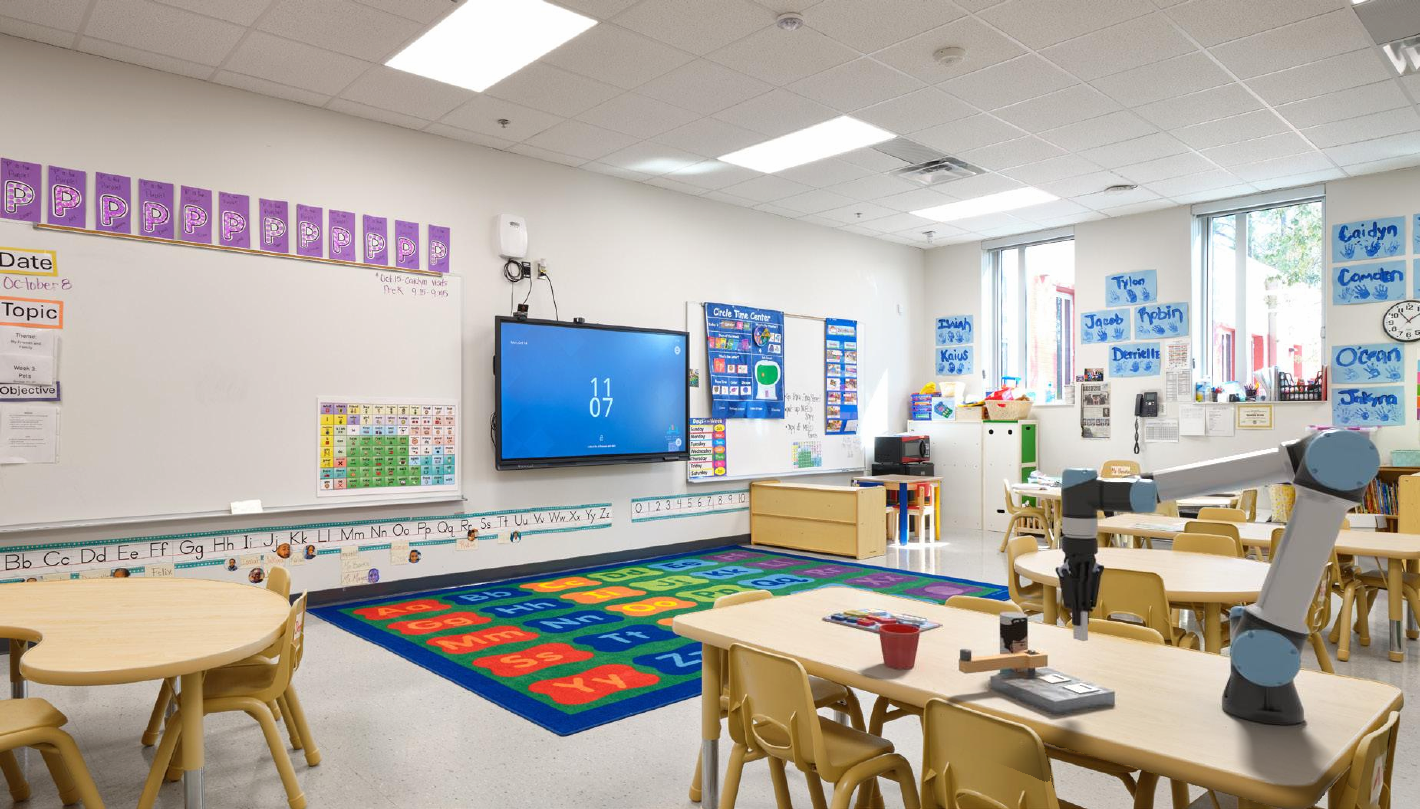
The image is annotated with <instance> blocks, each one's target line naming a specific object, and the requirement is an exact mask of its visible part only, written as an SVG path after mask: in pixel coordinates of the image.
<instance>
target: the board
mask: <svg viewBox="0 0 1420 809" xmlns="http://www.w3.org/2000/svg"><path fill="white" fill-rule="evenodd" d="M1034 650H1035V649H1033V650H1032V649H1028V651H1027V653H1028V654H1029V655H1035V651H1034ZM989 678H990V679H989V680H990V681H989V682H990V683H989V684H990V687H989V688H990V690H992V691H995V692H998V693H1000V694H1002V695H1004V696H1007V697H1009V698H1011V699H1015V700H1016V701H1020V702H1021V703H1024V704H1026V705H1029V706H1030V707H1034V708H1037V709H1039V710H1041V711H1043V712H1046V713H1049V714H1052V715H1053V716H1060V715H1066V714H1070V713H1076V712H1082V711H1087V710H1091V709H1098V708H1104V707H1108V706H1114V705H1116V702H1115V701H1116V698H1115V697H1116V694H1115V693H1116V691H1115V690H1112V689H1109V688H1108V687H1107V688H1106V687H1103V686H1101V685H1098V684H1095V683H1092V682H1089V681H1087V680H1084V679H1081V678H1077V677H1076V676H1072V675H1070V674H1067V673H1063V672H1061V671H1059V670H1058V671H1057V670H1054V669H1053V668H1052V669H1051V668H1050V667H1040V668H1028V671H1021V672H1014V673H1008V674H996V675H990V676H989Z"/></svg>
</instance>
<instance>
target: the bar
mask: <svg viewBox="0 0 1420 809" xmlns="http://www.w3.org/2000/svg"><path fill="white" fill-rule="evenodd" d="M1028 650H1029V649H1028ZM1028 650H1022V651H1016V653H1010V654H1000V653H999V654H991V655H984V656H983V655H982V656H975V657H973V656H972V650H971V649H967V648H961V649H960V650H959V658H958V672H960V673H963V674H967V675H968V674H974V673H984V672H992V671H993V672H994V671H1000V670H1003V669H1012V668H1021V667H1028V668H1035V669H1039V668H1048V662H1049V661H1048V660H1049V659H1048V654H1046V653H1045V652H1040V651H1038V650H1037V649H1031V650H1034V651H1035V655H1029V654H1028V653H1027V651H1028Z"/></svg>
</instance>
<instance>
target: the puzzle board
mask: <svg viewBox="0 0 1420 809" xmlns="http://www.w3.org/2000/svg"><path fill="white" fill-rule="evenodd" d="M821 619H822V621H825V622H829V623H832V624H833V623H834V624H837V625H841V626H842V625H843V626H846V627H849V628H850V627H851V628H854V629H859V630H864V631H867V632H871V633H874V634H875V633H877V634H879V626H881V625H884V624H906V625H912V626H915V627H917V628H919V629H920V633H924V632H927V631H931V630H934V629H937V628H941V627H940V626H942V627H943V626H944V624H943V623H938V622H933V621H927V620H928V619H927V618H925V617H923V616H922V617H920V616H917V615H916V616H915V615H911V614H905V613H900V614H895V613H893V614H891V613H888V612H887V610H884V609H879V608H871V609H868V608H865V609H860V610H854V609H853V610H852V609H850V610H845V611H843V613H839V612H835V613H833V614H831V615H829V616H824V617H821Z"/></svg>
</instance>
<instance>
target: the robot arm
mask: <svg viewBox="0 0 1420 809" xmlns="http://www.w3.org/2000/svg"><path fill="white" fill-rule="evenodd" d="M1380 467H1381V457H1380V453H1379V450H1378V448H1377V446H1376V445H1375V443H1374V442H1373V441H1372V440H1371V439H1370V438H1369V437H1368V436H1366V435H1365V434H1362V433H1361V432H1359V431H1356V430H1354V429H1348V428H1343V427H1340V428H1339V427H1338V428H1328V429H1323V430H1320V431H1318V432H1314V433H1312V434H1309V435H1306V436H1303V437H1300V438H1297V439H1292V440H1291V439H1290V440H1287V441H1282V442H1280V444H1279V445H1278V446H1277V447H1275V448H1271V449H1264V450H1259V451H1253V452H1249V453H1244V454H1243V453H1242V454H1238V455H1232V456H1228V457H1222V458H1217V459H1213V460H1206V461H1201V462H1197V463H1196V462H1195V463H1190V464H1185V465H1180V466H1175V467H1169V468H1168V467H1167V468H1164V469H1160V470H1154V471H1149V472H1143V473H1137V474H1127V475H1124V476H1123V477H1121V478H1118V477H1117V478H1115V477H1114V478H1113V477H1111V478H1110V477H1107V478H1106V477H1099V474H1098V471H1097V470H1096V469H1094V468H1079V467H1074V468H1073V467H1071V468H1065V469H1064V470H1063V471H1062V474H1061V475H1062V476H1061V487H1060V490H1061V493H1060V494H1061V532H1062V534H1063V536H1062V537H1061V550H1062V552H1063V553H1064V558H1063V564H1062V565H1061V566H1060V567H1059V566H1056V567H1055V569H1054V570H1055V573H1056V574H1057V577H1058V580H1059V586H1060V590H1061V591H1060V592H1061V597H1062V601H1063V607H1064V608H1065V609H1068V610H1070V611H1071V625H1073V633H1072V634H1073V635H1072V636H1073V639H1074V640H1078V641H1080V642H1081V641H1082V642H1086V641H1087V642H1088V640H1089V636H1088V635H1089V634H1088V633H1089V628H1088V627H1089V626H1088V625H1089V624H1090V612H1091V613H1092V612H1093V611H1094V608H1096V607H1097V603H1098V598H1099V597H1098V596H1099V590H1100V584H1101V579H1102V575H1103V572H1104V570H1105V565H1102V564H1099V563H1098V562H1097V558H1096V554H1098V553H1099V540H1098V538H1097V537H1096V536H1097V535H1099V528H1098V527H1099V525H1098V524H1099V523H1098V522H1099V521H1098V518H1099V517H1098V512H1099V511H1101V512H1117V513H1134V514H1139V515H1141V514H1153V513H1155V512H1156V511H1157V506H1158V505H1159V504H1163V503H1164V504H1165V503H1168V502H1169V503H1170V502H1175V501H1182V500H1187V499H1193V498H1199V497H1206V496H1211V495H1217V494H1223V493H1228V492H1230V493H1231V492H1235V491H1243V490H1246V489H1248V490H1249V489H1252V488H1253V489H1254V488H1260V487H1264V486H1265V487H1266V486H1271V485H1277V484H1283V483H1290V484H1291V485H1292V486H1293V488H1294V491H1295V492H1296V498H1295V501H1294V504H1293V506H1292V508H1291V511H1290V514H1289V516H1288V519H1287V521H1286V525H1285V527H1284V528H1283V532H1282V535H1281V537H1280V540H1279V542H1278V545H1277V547H1276V550H1275V553H1274V556H1273V559H1272V561H1271V563H1270V566H1269V569H1268V570H1267V573H1266V576H1265V579H1264V581H1263V584H1262V586H1261V589H1260V592H1259V594H1258V597H1257V598H1256V601H1255V602H1254V603H1251V604H1249V605H1246V606H1245V605H1244V606H1241V605H1237V606H1236V605H1235V606H1233V607H1231V608H1230V611H1229V617H1228V619H1229V642H1230V644H1229V645H1230V646H1229V647H1230V648H1229V656H1230V660H1229V661H1230V673H1229V674H1230V675H1229V678H1228V679H1227V683H1226V685H1225V687H1224V690H1223V693H1222V695H1221V709H1222V710H1224V711H1225V712H1226V713H1228V714H1231V715H1233V716H1236V717H1238V718H1241V719H1245V720H1247V721H1253V722H1257V723H1262V724H1263V723H1264V724H1269V725H1270V724H1271V725H1279V726H1281V725H1282V726H1284V725H1287V726H1290V725H1291V726H1292V725H1298V724H1297V723H1299V724H1301V723H1303V722H1305V710H1304V709H1305V708H1304V706H1303V704H1302V700H1301V699H1300V696H1299V693H1298V691H1297V690H1298V689H1297V688H1296V685H1295V680H1294V679H1295V678H1296V676H1297V675H1298V674H1299V671H1300V670H1301V667H1302V666H1301V663H1302V658H1301V657H1302V654H1303V651H1304V648H1305V647H1306V644H1307V641H1308V638H1309V636H1310V633H1311V630H1310V629H1309V627H1308V625H1307V623H1306V618H1307V616H1308V612H1309V609H1310V608H1311V605H1312V603H1313V600H1314V598H1315V595H1316V592H1317V589H1318V587H1319V584H1320V581H1321V580H1322V576H1323V575H1324V572H1325V569H1326V567H1327V564H1328V561H1329V559H1330V556H1331V555H1332V552H1333V549H1334V546H1335V543H1336V542H1337V539H1338V536H1339V534H1340V532H1341V529H1342V527H1343V524H1344V521H1345V518H1346V516H1347V513H1348V511H1349V510H1350V509H1353V508H1357V507H1358V506H1361V504H1362V502H1363V499H1364V497H1365V494H1366V492H1367V489H1368V486H1369V484H1370V483H1371V482H1372V481H1373V480H1375V477H1376V476H1377V475H1378V474H1379V471H1380ZM1300 722H1301V723H1300Z"/></svg>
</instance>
